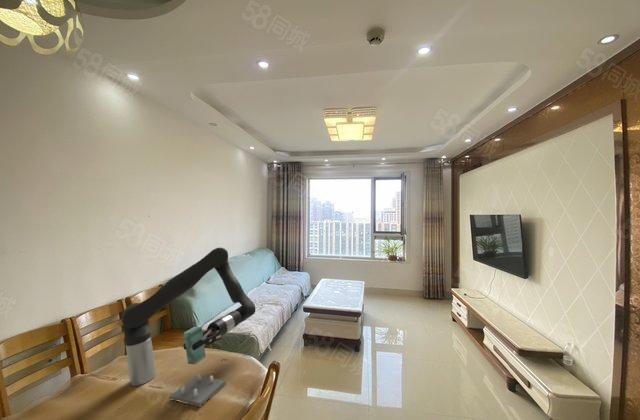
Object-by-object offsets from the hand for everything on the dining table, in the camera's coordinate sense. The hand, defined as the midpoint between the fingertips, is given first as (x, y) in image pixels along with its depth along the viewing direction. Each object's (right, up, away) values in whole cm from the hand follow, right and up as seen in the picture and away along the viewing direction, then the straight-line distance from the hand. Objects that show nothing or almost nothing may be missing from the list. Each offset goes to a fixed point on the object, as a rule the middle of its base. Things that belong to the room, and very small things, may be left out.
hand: (188, 347), depth 97 cm
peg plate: (+4, -18, +1) cm, 18 cm away
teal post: (+2, -6, +3) cm, 7 cm away
